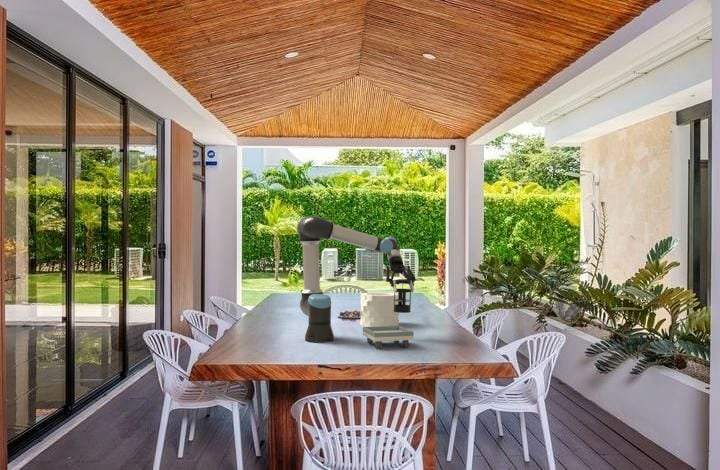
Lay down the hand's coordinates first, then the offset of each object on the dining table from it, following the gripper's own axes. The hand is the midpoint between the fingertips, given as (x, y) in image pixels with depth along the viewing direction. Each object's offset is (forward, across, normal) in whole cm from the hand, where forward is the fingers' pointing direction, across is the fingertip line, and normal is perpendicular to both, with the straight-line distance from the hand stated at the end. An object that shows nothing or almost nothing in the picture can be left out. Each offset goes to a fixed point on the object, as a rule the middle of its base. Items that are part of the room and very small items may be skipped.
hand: (404, 291), depth 325 cm
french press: (+6, 0, -10) cm, 12 cm away
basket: (-19, -3, -55) cm, 58 cm away
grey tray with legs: (+29, +14, -7) cm, 33 cm away
